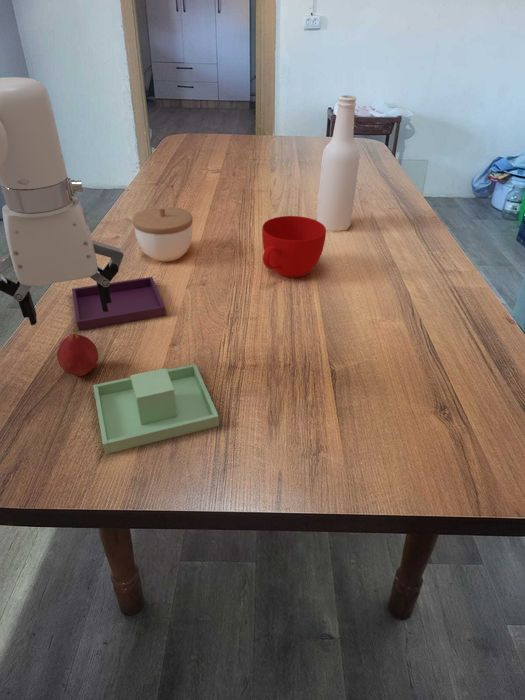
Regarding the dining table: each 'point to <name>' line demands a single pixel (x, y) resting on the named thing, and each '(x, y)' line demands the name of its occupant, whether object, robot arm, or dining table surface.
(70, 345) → the red pomegranate
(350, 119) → the alcohol
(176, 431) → the sage tray
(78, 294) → the plum tray
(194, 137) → the dining table surface
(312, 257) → the ceramic cup
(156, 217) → the lidded bowl
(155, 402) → the sage block
